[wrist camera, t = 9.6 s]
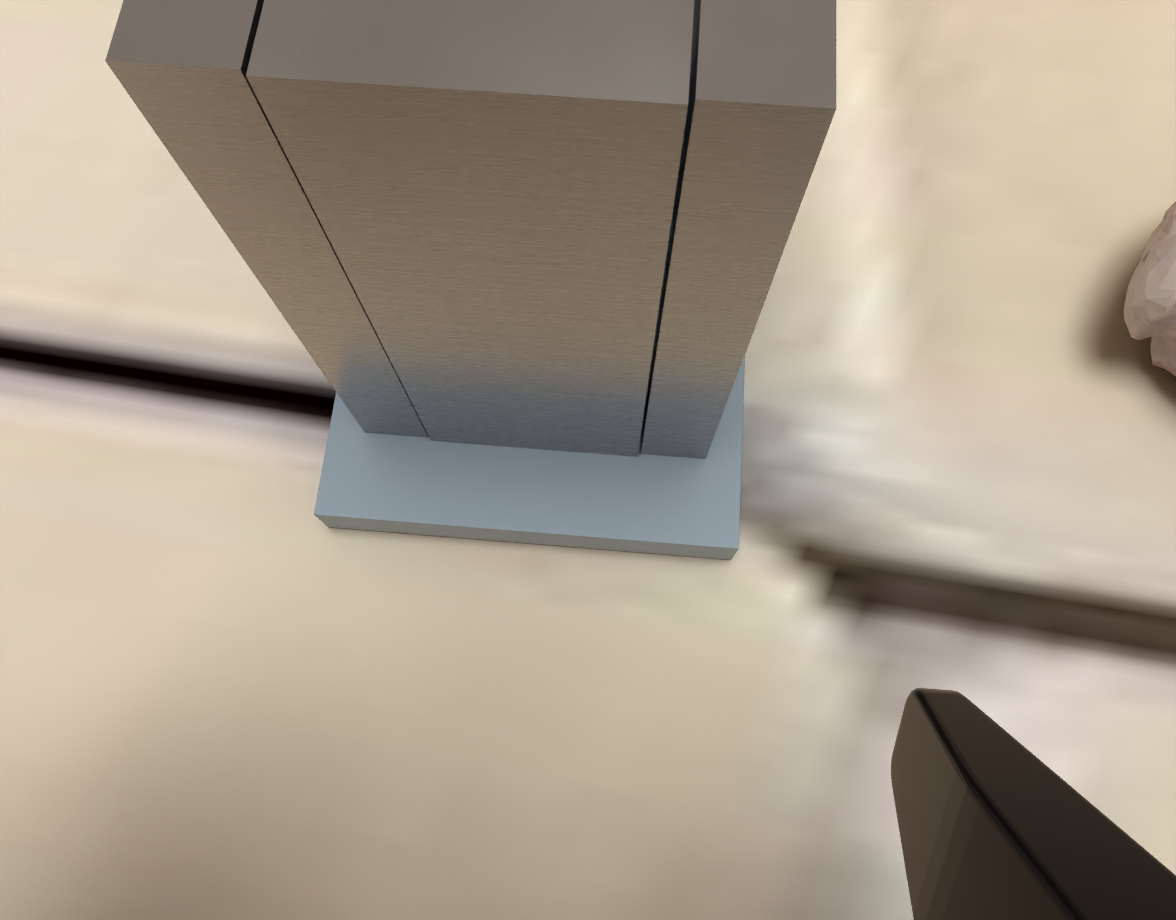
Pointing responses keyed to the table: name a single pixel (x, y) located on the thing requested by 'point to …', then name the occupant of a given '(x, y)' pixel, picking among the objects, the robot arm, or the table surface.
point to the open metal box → (501, 195)
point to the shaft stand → (537, 491)
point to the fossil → (1156, 294)
